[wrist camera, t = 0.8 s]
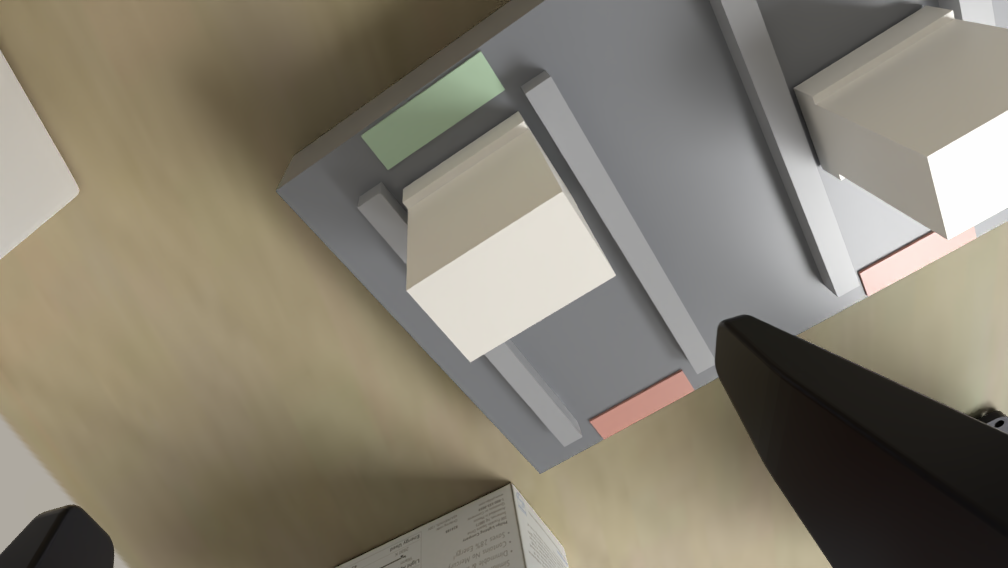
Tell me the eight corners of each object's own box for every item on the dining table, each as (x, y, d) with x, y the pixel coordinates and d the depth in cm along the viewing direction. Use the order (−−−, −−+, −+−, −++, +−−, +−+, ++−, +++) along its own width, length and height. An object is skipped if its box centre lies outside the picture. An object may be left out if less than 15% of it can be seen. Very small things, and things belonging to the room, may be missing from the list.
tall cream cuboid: (569, 192, 19) (621, 283, 14) (461, 261, 19) (476, 368, 15) (518, 111, 17) (556, 181, 13) (402, 188, 18) (399, 282, 13)
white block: (945, 95, 19) (1120, 155, 14) (822, 168, 19) (949, 247, 15) (925, 5, 17) (1114, 38, 13) (793, 88, 18) (925, 147, 13)
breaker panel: (990, 162, 24) (1081, 201, 20) (528, 422, 28) (543, 489, 24) (907, -284, 16) (1030, -334, 13) (292, 156, 20) (270, 202, 17)
